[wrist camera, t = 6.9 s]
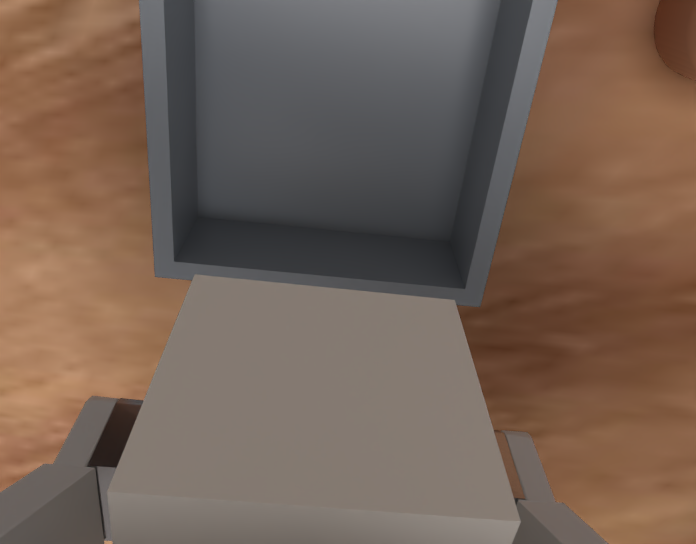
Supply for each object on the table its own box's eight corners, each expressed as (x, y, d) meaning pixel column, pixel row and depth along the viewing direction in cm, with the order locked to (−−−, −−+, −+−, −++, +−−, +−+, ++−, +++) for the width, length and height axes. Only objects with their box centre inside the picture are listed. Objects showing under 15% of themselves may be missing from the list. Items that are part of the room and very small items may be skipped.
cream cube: (455, 299, 12) (520, 521, 7) (409, 477, 14) (439, 719, 10) (194, 274, 11) (107, 491, 7) (195, 460, 14) (131, 704, 10)
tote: (461, 252, 30) (479, 307, 26) (184, 225, 29) (154, 276, 25) (559, -189, 21) (612, -219, 17) (170, -241, 21) (122, -285, 16)
